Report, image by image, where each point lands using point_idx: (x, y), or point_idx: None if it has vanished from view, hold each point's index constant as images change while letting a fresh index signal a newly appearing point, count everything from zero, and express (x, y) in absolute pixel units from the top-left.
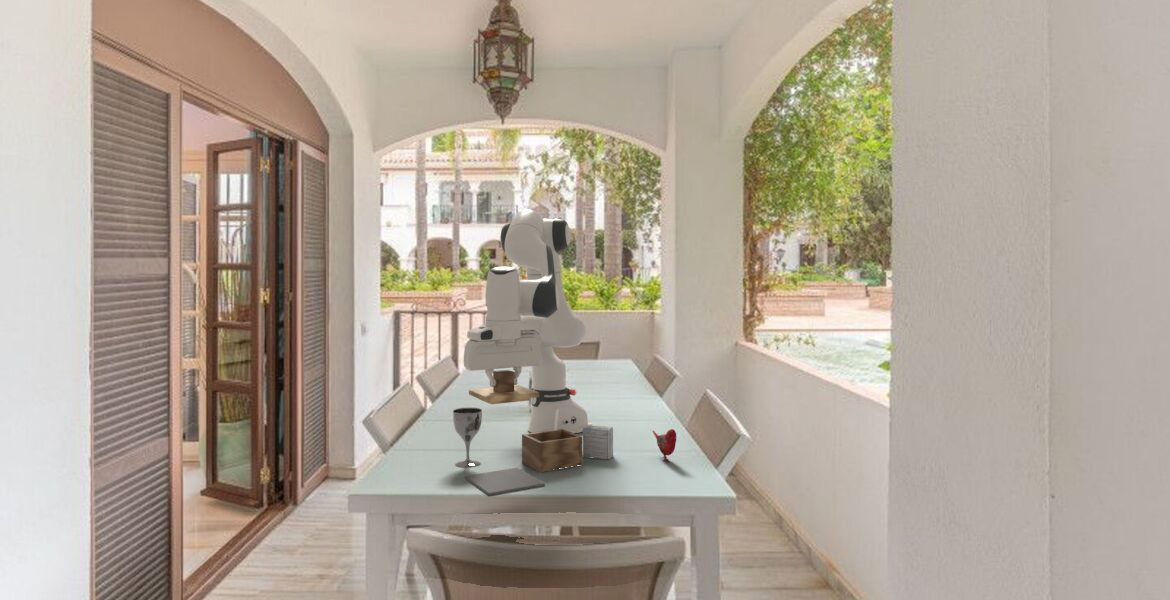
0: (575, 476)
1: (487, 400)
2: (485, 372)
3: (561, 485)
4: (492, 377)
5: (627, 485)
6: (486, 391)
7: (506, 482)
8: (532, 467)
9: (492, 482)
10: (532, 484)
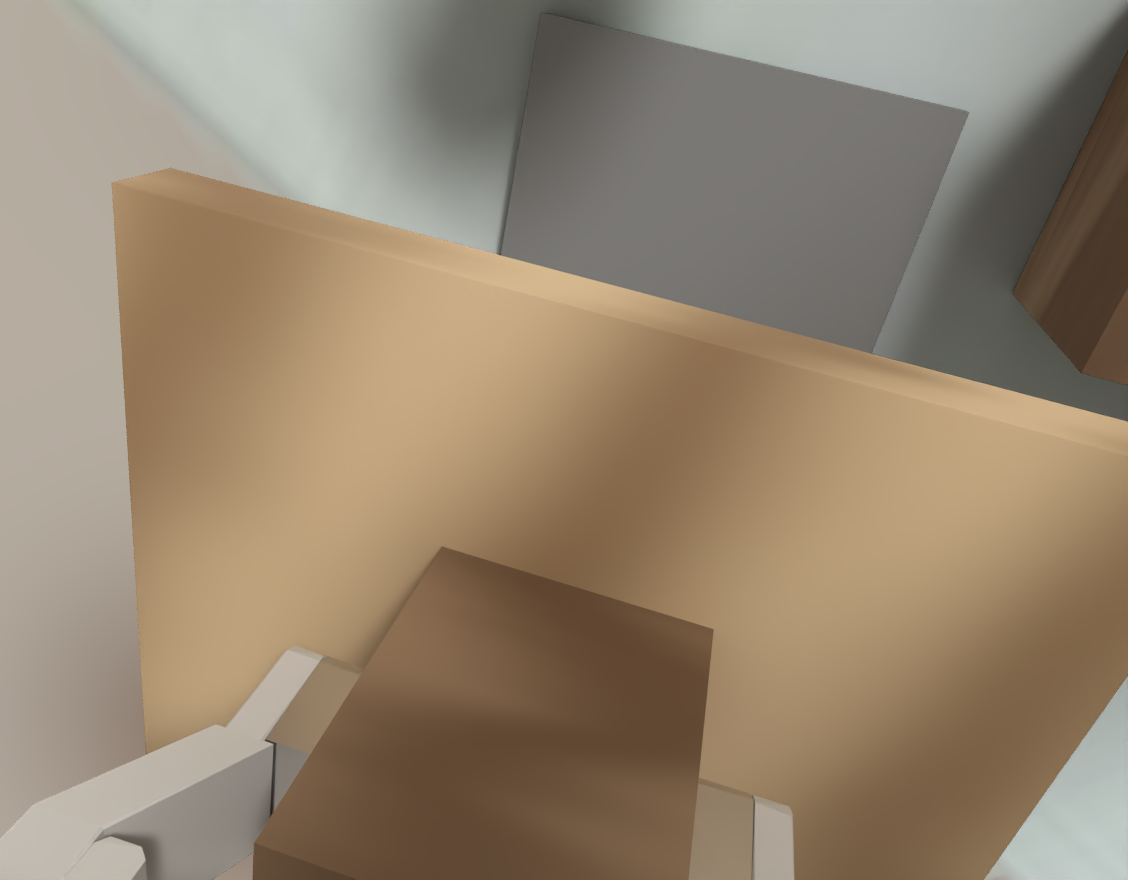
0: None
1: None
2: (28, 815)
3: None
4: (190, 875)
5: (1122, 788)
6: (308, 532)
7: None
8: (1073, 171)
9: (596, 279)
10: None
